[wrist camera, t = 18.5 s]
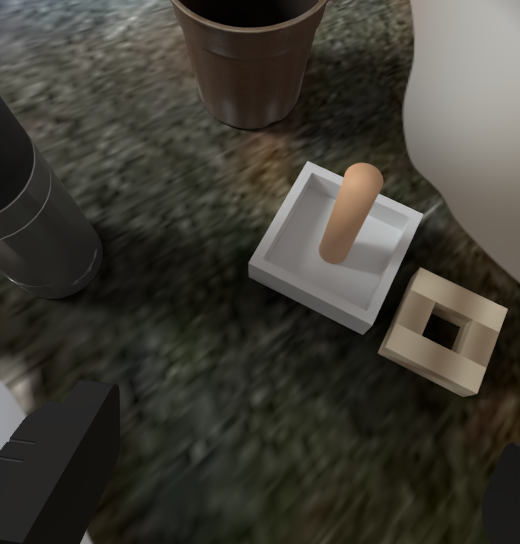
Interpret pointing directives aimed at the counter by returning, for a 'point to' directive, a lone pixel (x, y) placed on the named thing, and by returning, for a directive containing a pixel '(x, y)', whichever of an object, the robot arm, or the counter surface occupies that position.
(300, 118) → the counter surface
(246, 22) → the plant pot
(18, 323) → the counter surface
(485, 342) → the dowel holder
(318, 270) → the tray
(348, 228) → the dowel
